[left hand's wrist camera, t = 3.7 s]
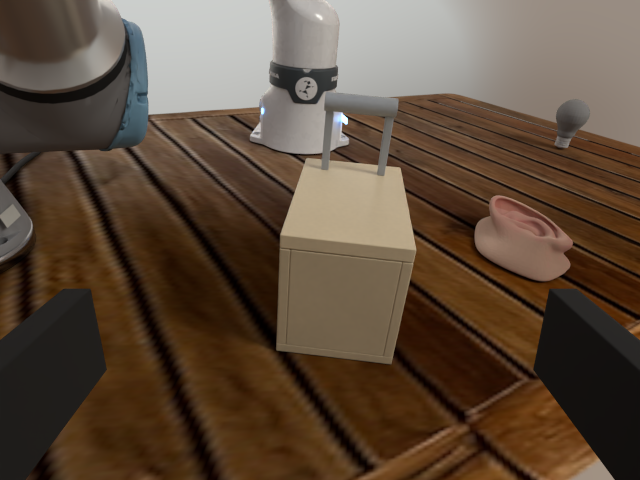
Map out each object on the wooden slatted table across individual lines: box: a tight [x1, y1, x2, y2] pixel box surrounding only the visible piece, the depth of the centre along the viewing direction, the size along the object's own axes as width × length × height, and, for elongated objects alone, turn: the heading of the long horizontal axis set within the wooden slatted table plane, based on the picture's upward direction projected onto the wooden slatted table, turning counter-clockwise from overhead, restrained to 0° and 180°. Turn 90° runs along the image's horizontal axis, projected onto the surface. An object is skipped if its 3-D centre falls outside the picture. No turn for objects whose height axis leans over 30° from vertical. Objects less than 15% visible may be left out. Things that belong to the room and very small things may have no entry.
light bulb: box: [555, 99, 590, 148], centre depth 90 cm, size 6×6×10 cm
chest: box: [276, 248, 413, 364], centre depth 40 cm, size 16×10×10 cm, turn 175°
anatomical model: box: [475, 196, 573, 281], centre depth 53 cm, size 13×4×12 cm
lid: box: [280, 92, 416, 263], centre depth 36 cm, size 16×10×8 cm, turn 175°
